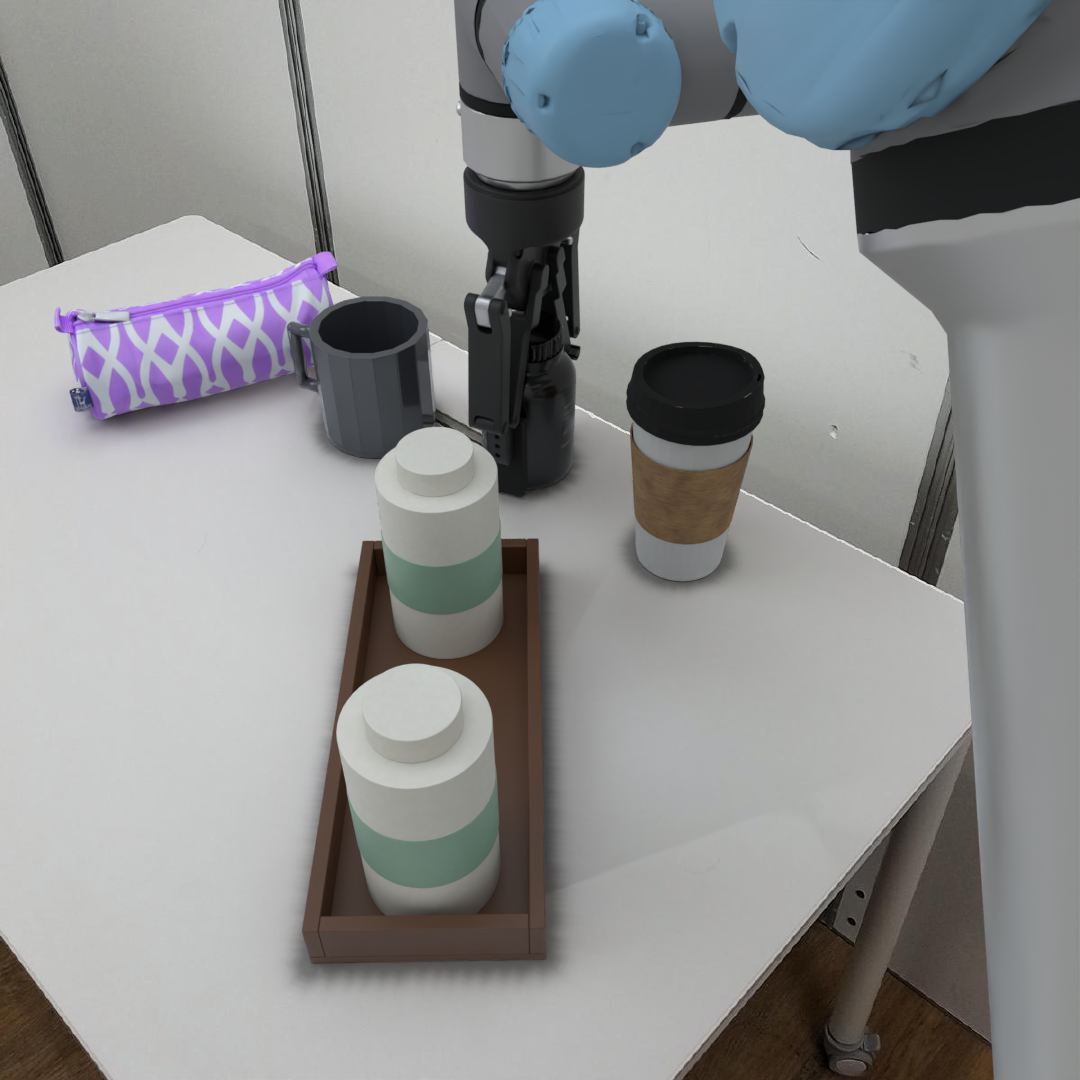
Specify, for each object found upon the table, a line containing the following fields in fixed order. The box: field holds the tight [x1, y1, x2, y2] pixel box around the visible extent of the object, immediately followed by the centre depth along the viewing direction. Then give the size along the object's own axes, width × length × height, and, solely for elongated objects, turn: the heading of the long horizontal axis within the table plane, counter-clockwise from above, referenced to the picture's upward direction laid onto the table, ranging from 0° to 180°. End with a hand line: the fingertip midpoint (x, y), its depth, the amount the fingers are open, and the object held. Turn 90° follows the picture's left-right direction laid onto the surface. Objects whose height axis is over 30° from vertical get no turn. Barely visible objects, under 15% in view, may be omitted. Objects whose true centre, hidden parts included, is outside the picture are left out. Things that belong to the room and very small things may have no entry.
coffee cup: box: [625, 341, 766, 582], centre depth 72 cm, size 8×8×15 cm
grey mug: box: [287, 295, 437, 459], centre depth 85 cm, size 12×9×9 cm
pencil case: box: [53, 251, 339, 421], centre depth 89 cm, size 22×9×10 cm, turn 115°
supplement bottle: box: [481, 310, 577, 490], centre depth 80 cm, size 7×7×12 cm
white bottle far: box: [373, 426, 504, 659], centre depth 67 cm, size 7×7×14 cm
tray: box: [301, 537, 547, 964], centre depth 64 cm, size 12×28×3 cm, turn 1°
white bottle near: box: [336, 664, 501, 915], centre depth 54 cm, size 7×7×14 cm
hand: (528, 459), depth 84 cm, fingers closed on supplement bottle, 7 cm apart
